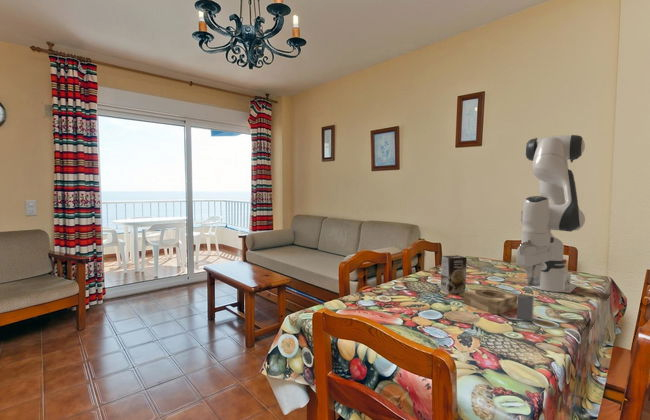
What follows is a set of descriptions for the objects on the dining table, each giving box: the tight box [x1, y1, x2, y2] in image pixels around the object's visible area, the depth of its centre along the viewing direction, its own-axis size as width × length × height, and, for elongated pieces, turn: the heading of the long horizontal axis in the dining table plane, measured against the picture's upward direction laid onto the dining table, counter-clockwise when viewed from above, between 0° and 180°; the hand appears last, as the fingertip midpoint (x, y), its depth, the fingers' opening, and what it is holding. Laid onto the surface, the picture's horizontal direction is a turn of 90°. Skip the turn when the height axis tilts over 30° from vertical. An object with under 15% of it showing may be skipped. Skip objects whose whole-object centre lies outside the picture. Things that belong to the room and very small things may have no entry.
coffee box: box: [440, 255, 468, 295], centre depth 149 cm, size 9×6×16 cm
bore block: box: [462, 286, 518, 316], centre depth 130 cm, size 14×14×5 cm
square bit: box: [516, 293, 535, 323], centre depth 118 cm, size 4×4×8 cm
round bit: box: [526, 264, 541, 287], centre depth 124 cm, size 4×4×8 cm
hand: (533, 275), depth 124 cm, fingers closed on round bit, 4 cm apart
